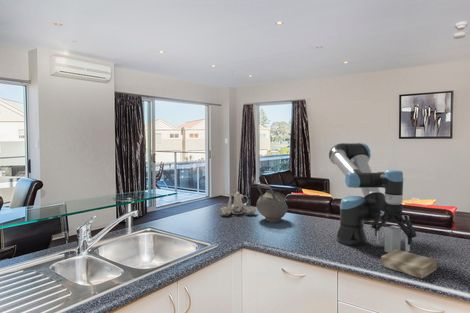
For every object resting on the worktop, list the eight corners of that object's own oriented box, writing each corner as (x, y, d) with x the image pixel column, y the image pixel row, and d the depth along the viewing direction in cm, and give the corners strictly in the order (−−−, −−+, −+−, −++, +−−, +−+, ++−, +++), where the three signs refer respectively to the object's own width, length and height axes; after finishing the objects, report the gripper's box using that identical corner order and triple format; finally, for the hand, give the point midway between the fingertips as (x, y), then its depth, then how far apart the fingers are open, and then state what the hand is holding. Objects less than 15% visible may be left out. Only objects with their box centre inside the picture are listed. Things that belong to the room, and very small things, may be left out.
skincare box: (392, 249, 152) (392, 224, 151) (400, 252, 148) (401, 227, 148) (383, 251, 149) (384, 226, 149) (392, 254, 145) (393, 228, 145)
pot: (262, 225, 196) (262, 185, 194) (252, 217, 216) (252, 181, 214) (292, 223, 201) (292, 184, 199) (280, 215, 221) (280, 180, 219)
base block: (381, 265, 133) (381, 256, 132) (397, 257, 141) (397, 249, 141) (421, 278, 120) (422, 268, 120) (436, 269, 128) (436, 259, 128)
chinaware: (221, 219, 217) (221, 196, 214) (217, 212, 233) (217, 190, 231) (259, 217, 223) (260, 195, 220) (253, 210, 239) (254, 189, 236)
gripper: (364, 200, 155) (363, 242, 156) (418, 208, 135) (417, 256, 136) (372, 198, 160) (371, 239, 161) (425, 206, 140) (424, 252, 141)
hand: (392, 247), depth 148 cm, fingers open, 13 cm apart
